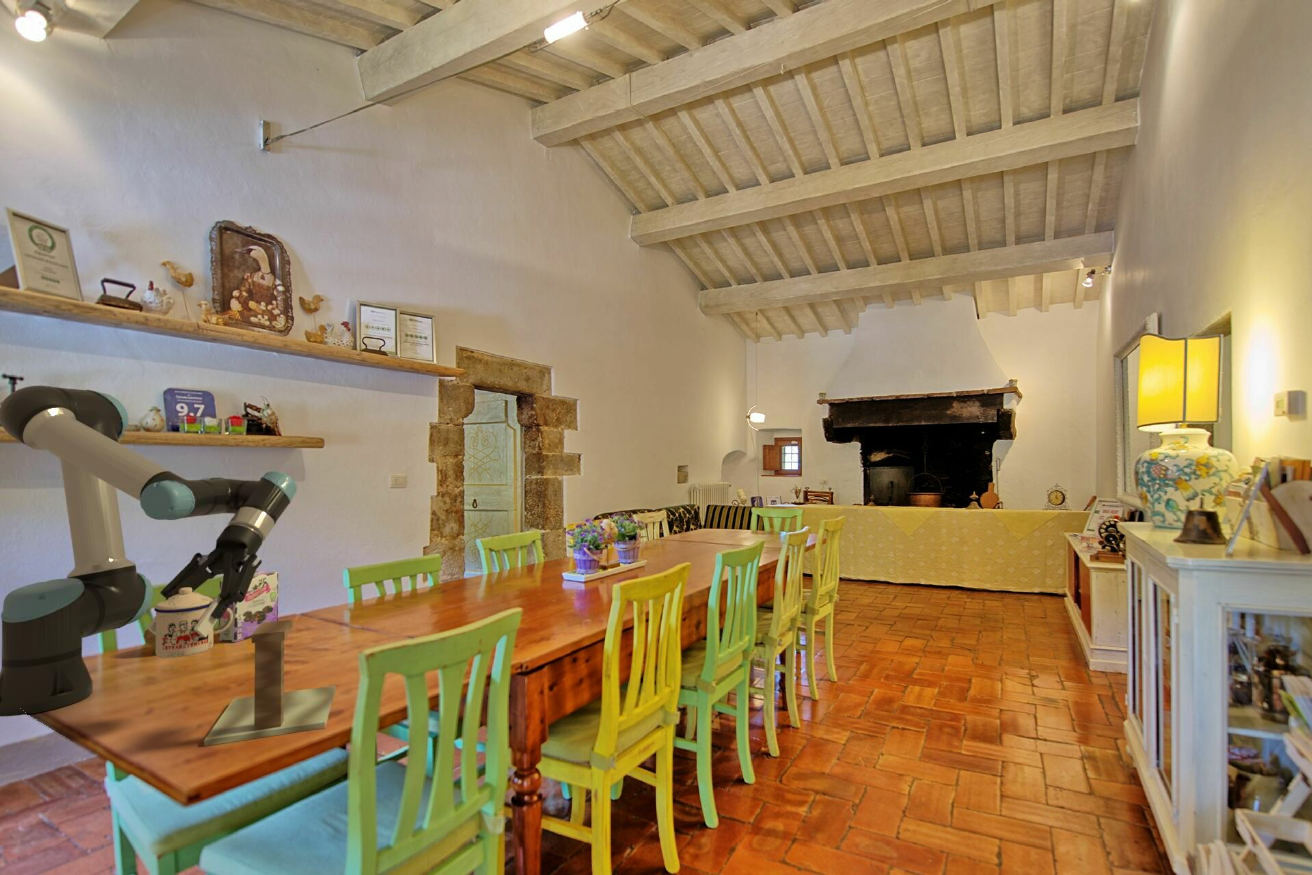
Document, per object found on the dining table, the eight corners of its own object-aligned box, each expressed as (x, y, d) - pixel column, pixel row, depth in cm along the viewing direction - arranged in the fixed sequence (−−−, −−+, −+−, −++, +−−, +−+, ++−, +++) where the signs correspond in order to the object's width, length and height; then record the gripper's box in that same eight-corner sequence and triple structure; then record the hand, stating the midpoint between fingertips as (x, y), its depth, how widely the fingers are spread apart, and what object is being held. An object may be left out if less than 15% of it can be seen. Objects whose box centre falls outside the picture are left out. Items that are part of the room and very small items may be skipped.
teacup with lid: (155, 662, 112) (156, 596, 112) (152, 650, 119) (152, 587, 119) (236, 648, 120) (237, 586, 120) (228, 637, 127) (229, 578, 127)
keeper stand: (204, 746, 106) (205, 640, 107) (233, 703, 125) (233, 614, 126) (324, 727, 113) (325, 628, 114) (335, 690, 132) (335, 605, 132)
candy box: (235, 643, 167) (235, 580, 168) (217, 641, 169) (218, 579, 169) (278, 629, 181) (279, 570, 181) (262, 628, 182) (262, 570, 183)
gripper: (301, 545, 134) (240, 644, 117) (209, 545, 137) (138, 641, 121) (282, 523, 129) (217, 623, 112) (188, 523, 132) (110, 620, 116)
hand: (176, 632), depth 117 cm, fingers closed on teacup with lid, 9 cm apart
